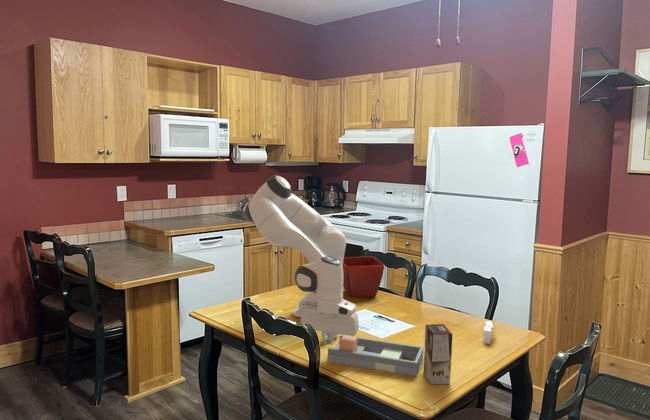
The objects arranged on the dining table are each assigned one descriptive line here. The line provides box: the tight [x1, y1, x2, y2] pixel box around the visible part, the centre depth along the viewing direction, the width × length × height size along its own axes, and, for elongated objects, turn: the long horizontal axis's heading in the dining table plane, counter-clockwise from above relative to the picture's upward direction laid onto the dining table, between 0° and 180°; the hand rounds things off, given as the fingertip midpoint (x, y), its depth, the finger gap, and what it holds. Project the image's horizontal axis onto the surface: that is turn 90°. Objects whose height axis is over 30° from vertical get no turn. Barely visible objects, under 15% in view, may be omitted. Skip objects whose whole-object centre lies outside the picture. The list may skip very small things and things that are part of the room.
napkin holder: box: [482, 320, 494, 344], centre depth 192 cm, size 15×11×6 cm
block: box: [338, 335, 358, 352], centre depth 169 cm, size 5×5×5 cm
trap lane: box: [327, 334, 425, 377], centre depth 169 cm, size 30×14×4 cm, turn 71°
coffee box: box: [423, 323, 453, 385], centre depth 157 cm, size 9×6×16 cm
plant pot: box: [342, 256, 385, 299], centre depth 246 cm, size 19×19×17 cm
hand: (328, 343), depth 171 cm, fingers closed
